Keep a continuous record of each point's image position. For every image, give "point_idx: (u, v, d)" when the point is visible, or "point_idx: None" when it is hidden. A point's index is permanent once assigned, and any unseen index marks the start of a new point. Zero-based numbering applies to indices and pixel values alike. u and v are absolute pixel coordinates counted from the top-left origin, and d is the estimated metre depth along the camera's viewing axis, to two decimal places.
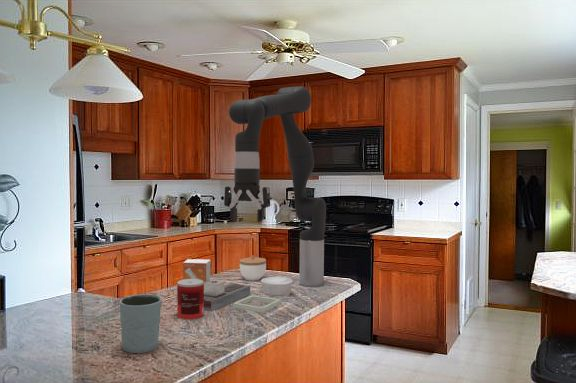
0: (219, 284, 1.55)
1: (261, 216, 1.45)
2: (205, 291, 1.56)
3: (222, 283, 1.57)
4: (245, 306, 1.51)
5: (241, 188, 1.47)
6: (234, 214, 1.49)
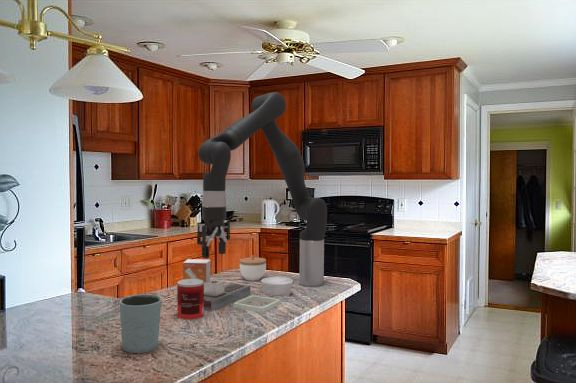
0: (219, 284, 1.55)
1: (225, 248, 1.61)
2: (205, 291, 1.56)
3: (222, 283, 1.57)
4: (245, 306, 1.51)
5: (214, 225, 1.54)
6: None
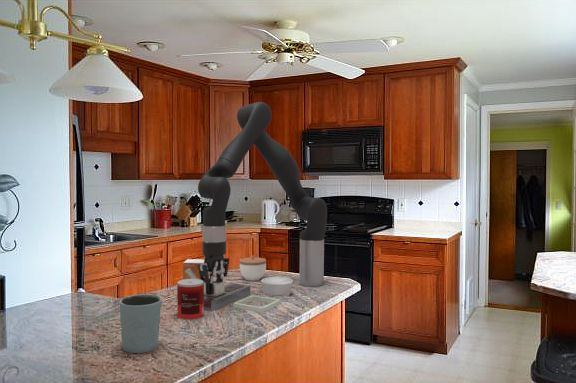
0: (219, 284, 1.55)
1: None
2: (205, 291, 1.56)
3: (222, 283, 1.57)
4: (245, 306, 1.51)
5: (214, 260, 1.55)
6: None
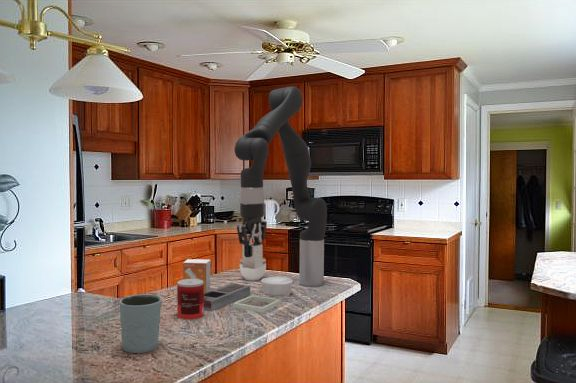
0: (257, 246, 1.54)
1: None
2: (243, 254, 1.54)
3: (260, 246, 1.55)
4: (245, 306, 1.51)
5: (253, 222, 1.53)
6: None
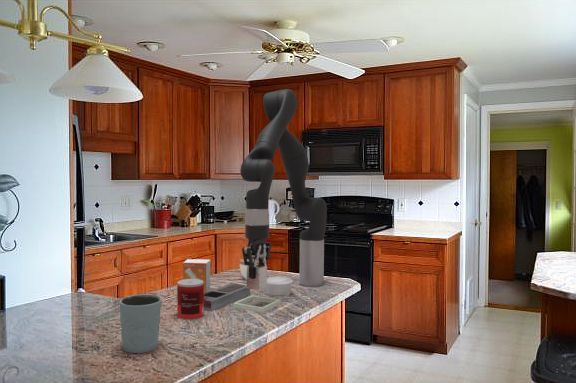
0: (262, 268, 1.54)
1: None
2: (248, 275, 1.54)
3: (265, 267, 1.55)
4: (245, 306, 1.51)
5: (258, 243, 1.53)
6: None
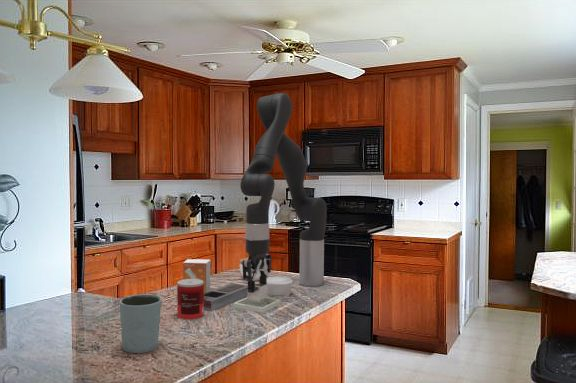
0: (263, 287, 1.54)
1: None
2: (248, 294, 1.54)
3: (265, 286, 1.55)
4: (245, 306, 1.51)
5: (258, 258, 1.53)
6: None
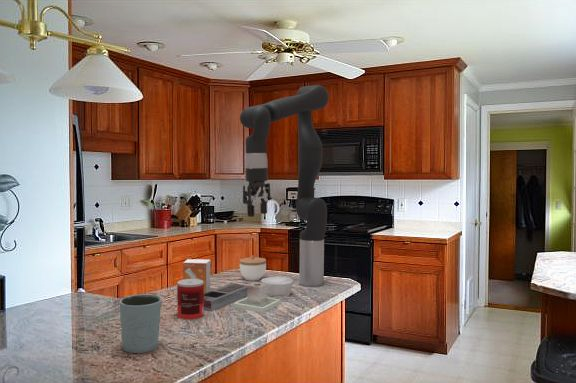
0: (263, 287, 1.54)
1: None
2: (248, 294, 1.54)
3: (265, 286, 1.55)
4: (245, 306, 1.51)
5: (257, 186, 1.63)
6: None
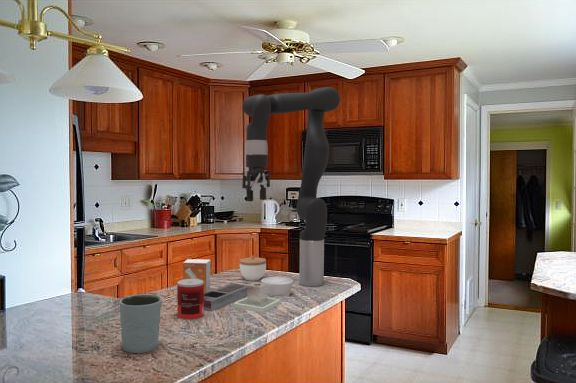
0: (263, 287, 1.54)
1: (265, 195, 1.75)
2: (248, 294, 1.54)
3: (265, 286, 1.55)
4: (245, 306, 1.51)
5: (257, 172, 1.68)
6: None
